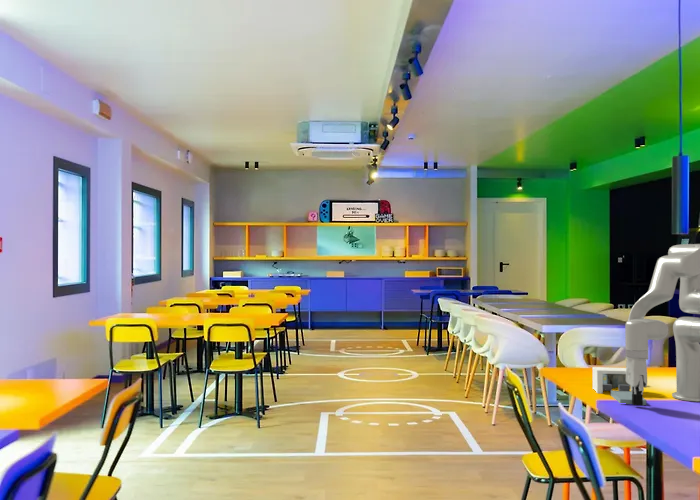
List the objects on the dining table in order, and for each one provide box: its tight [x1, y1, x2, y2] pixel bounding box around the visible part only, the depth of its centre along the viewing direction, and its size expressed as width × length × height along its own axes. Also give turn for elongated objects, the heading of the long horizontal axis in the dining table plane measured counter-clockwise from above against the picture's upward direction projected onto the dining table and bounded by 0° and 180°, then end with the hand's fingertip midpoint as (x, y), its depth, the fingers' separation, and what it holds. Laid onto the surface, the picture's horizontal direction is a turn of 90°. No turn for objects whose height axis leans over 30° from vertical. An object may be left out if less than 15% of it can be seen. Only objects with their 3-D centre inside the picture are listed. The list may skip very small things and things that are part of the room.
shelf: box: [592, 366, 632, 394], centre depth 246 cm, size 17×8×9 cm, turn 81°
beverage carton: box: [603, 374, 631, 389], centre depth 259 cm, size 8×19×7 cm, turn 115°
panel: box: [610, 389, 647, 406], centre depth 231 cm, size 9×16×2 cm, turn 168°
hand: (637, 404), depth 220 cm, fingers closed
